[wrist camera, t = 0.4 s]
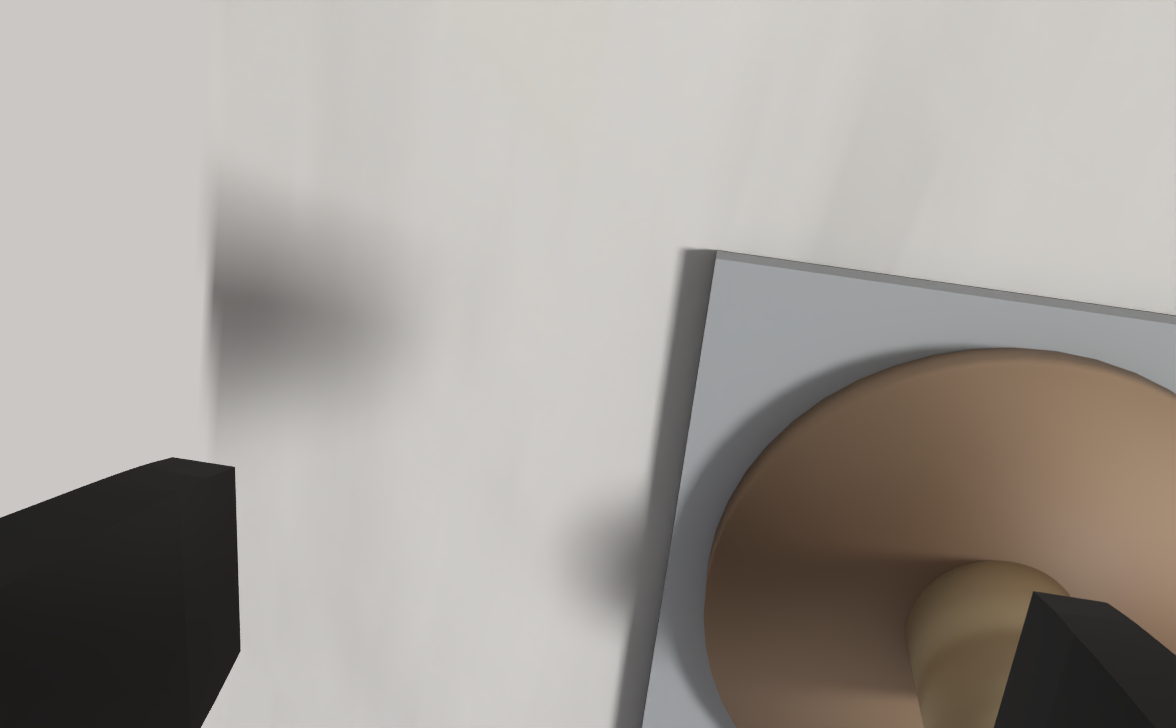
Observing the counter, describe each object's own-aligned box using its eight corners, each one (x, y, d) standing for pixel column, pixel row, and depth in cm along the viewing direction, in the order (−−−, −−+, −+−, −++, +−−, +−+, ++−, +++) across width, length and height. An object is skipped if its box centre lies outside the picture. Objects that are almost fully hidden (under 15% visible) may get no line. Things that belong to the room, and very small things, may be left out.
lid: (1181, 865, 20) (1301, 1125, 16) (672, 769, 21) (649, 988, 17) (1378, 397, 17) (1603, 564, 12) (752, 306, 17) (750, 430, 13)
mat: (1198, 880, 21) (1208, 901, 20) (634, 773, 22) (631, 791, 21) (1425, 351, 17) (1444, 363, 16) (717, 250, 18) (715, 258, 17)
